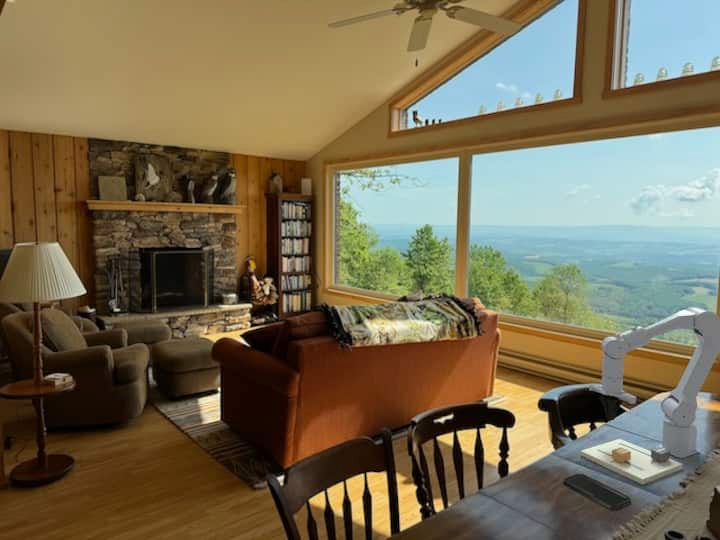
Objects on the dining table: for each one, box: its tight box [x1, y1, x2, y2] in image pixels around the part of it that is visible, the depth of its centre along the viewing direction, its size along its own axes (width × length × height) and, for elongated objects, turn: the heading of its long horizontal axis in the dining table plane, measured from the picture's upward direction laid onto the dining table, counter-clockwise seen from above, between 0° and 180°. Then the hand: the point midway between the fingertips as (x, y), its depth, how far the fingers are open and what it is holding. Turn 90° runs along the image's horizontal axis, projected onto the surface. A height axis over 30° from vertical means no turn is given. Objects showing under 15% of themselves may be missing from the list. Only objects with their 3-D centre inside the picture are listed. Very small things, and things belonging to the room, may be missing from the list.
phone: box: [562, 473, 632, 510], centre depth 127 cm, size 8×1×15 cm
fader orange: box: [612, 447, 631, 463], centre depth 141 cm, size 4×3×2 cm
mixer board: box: [580, 438, 683, 485], centre depth 143 cm, size 18×19×2 cm
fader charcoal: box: [650, 447, 671, 462], centre depth 141 cm, size 4×3×2 cm
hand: (610, 419), depth 154 cm, fingers closed
